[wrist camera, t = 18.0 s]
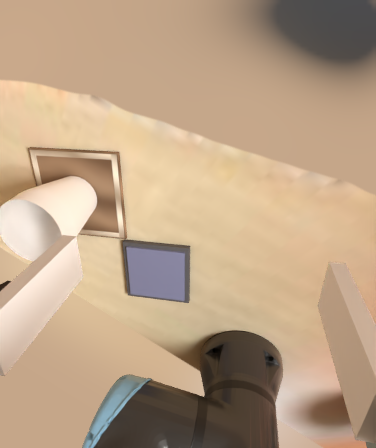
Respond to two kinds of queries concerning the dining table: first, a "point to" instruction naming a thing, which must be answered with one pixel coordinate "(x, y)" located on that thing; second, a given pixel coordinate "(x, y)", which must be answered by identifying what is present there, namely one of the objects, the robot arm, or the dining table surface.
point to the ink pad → (157, 270)
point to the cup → (46, 215)
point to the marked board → (96, 176)
